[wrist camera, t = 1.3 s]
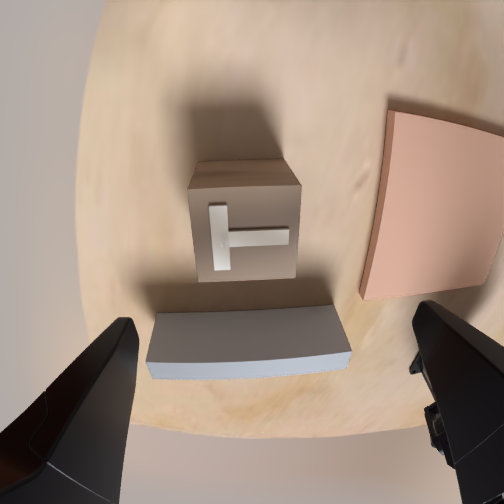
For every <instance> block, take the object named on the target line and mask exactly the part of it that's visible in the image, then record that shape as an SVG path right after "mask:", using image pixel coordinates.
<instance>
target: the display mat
mask: <svg viewBox="0 0 504 504" xmlns="http://www.w3.org/2000/svg"><path fill="white" fill-rule="evenodd" d="M503 231H504V137H502V136H499V135H496V134H492V133H489V132H486V131H482V130H479V129H475V128H472V127H468V126H464V125H460V124H456V123H452V122H448V121H444V120H439V119H435V118H430V117H425V116H420V115H415V114H410V113H404V112H398V111H392V110H388V112H387V125H386V137H385V147H384V156H383V165H382V173H381V180H380V187H379V194H378V201H377V207H376V213H375V219H374V224H373V230H372V235H371V240H370V246H369V250H368V255H367V260H366V265H365V269H364V274H363V278H362V282H361V287H360V291H359V294H360V296H361V298H362V299H363V301H366V300H375V299H384V298H393V297H401V296H409V295H416V294H424V293H431V292H438V291H445V290H452V289H458V288H464V287H471V286H477V285H483V284H484V282H485V280H486V277H487V275H488V272H489V270H490V267H491V265H492V262H493V260H494V257H495V254H496V252H497V249H498V246H499V243H500V240H501V237H502V234H503Z"/></svg>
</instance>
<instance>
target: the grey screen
mask: <svg viewBox="0 0 504 504" xmlns="http://www.w3.org/2000/svg"><path fill="white" fill-rule="evenodd" d="M351 353H352V349H351V347H350V344H349V342H348V339H347V336H346V334H345V331H344V329H343V326H342V324H341V321H340V319H339V316H338V314H337V311H336V309H335V306H334V305H322V306H310V307H297V308H282V309H266V310H247V311H224V312H191V313H157V315H156V319H155V323H154V328H153V332H152V336H151V340H150V344H149V349H148V353H147V357H146V365H147V367H148V369H149V372H150V374H151V376H152V379H169V380H222V379H247V378H264V377H277V376H289V375H299V374H308V373H317V372H325V371H332V370H339V369H346V368H347V365H348V362H349V359H350V356H351Z"/></svg>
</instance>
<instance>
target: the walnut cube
mask: <svg viewBox="0 0 504 504" xmlns="http://www.w3.org/2000/svg"><path fill="white" fill-rule="evenodd" d="M301 187H302V185H301V184H300V182H299V181H298V179H297V178H296V176H295V175H294V173H293V172H292V170H291V169H290V167H289V166H288V164H287V163H286V161H285V160H284V159H249V160H223V161H205V162H198V165H197V167H196V170H195V172H194V174H193V177H192V179H191V182H190V184H189V187H188V189H187V191H188V201H189V210H190V219H191V228H192V237H193V245H194V253H195V260H196V268H197V275H198V282H222V281H246V280H267V279H286V278H295V276H296V264H297V251H298V237H299V222H300V206H301Z"/></svg>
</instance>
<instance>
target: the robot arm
mask: <svg viewBox="0 0 504 504" xmlns="http://www.w3.org/2000/svg"><path fill="white" fill-rule="evenodd" d="M412 326H413V330H414V333H415V336H416V340H417V343H418V347H419V351H420V352H419V354H418V356H417V358H416V359H415V361H414V363H413V365H412V367H411V368H410V370H409V372H410V374H411V375H412V374H416V373H420V372H421V373H422V375H423V377H424V379H425V381H426V383H427V385H428V387H429V389H430V391H431V393H432V395H433V398H434V400H435V402H434V403H432V404H431V405H430V406H427V407H425V408H424V411H425V414H424V415H425V418H426V422H427V425H428V429H429V433H430V439H431V445H432V447H434V448H437V450H438V451H439V452H440V453H441V454H442V455H445V458H446V461H447V464H448V465H449V466H451V467H452V468H453V469H455V470H456V475H457V479H458V484H459V489H460V494H461V499H462V504H504V347H503V346H502V345H500V344H499V343H497V342H496V341H494V340H493V339H491V338H490V337H488V336H487V335H485V334H484V333H482V332H481V331H479V330H478V329H476V328H475V327H473V326H472V325H470V324H469V323H467V322H466V321H464V320H462V319H461V318H459V317H458V316H456V315H455V314H453V313H452V312H450V311H448V310H447V309H445V308H444V307H442V306H440V305H439V304H437V303H436V302H434V301H432V300H426V301H421V302H420V303H419V305H418V308H417V310H416V312H415V315H414V317H413V320H412ZM138 352H139V336H138V333H137V330H136V327H135V324H134V321H133V319H132V318H130V317H119V318H117V319H116V320H115V321H114V322H113V323H112V324H111V325H110V326H109V327H108V328H107V329H105V330H104V331H103V332H102V333H101V334H100V335H99V336H98V337H97V338H96V339H95V340H94V341H93V342H92V343H91V344H90V345H89V346H88V347H87V348H86V349H85V350H84V351H83V352H82V353H81V354H80V355H79V356H78V357H77V358H76V359H75V360H74V361H73V362H72V363H71V364H70V365H69V366H68V367H67V368H66V369H65V370H64V371H63V372H62V373H61V374H60V375H59V376H58V377H57V378H56V379H55V380H54V382H52V383H51V385H50V386H49V387H48V388H47V389H46V392H45V391H44V392H43V393H42V394H41V395H40V396H39V397H38V398H37V399H36V400H35V401H34V402H33V403H32V404H31V405H30V406H29V407H28V408H27V409H26V410H25V411H24V412H23V413H22V414H21V415H20V416H19V417H17V418H16V419H15V420H14V421H13V422H12V423H11V424H10V425H9V426H7V427H6V428H5V429H4V430H3V431H2V432H1V433H0V504H119V498H120V487H121V478H122V470H123V462H124V454H125V447H126V440H127V434H128V427H129V421H130V415H131V410H132V404H133V399H134V393H135V386H136V375H137V362H138Z"/></svg>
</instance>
